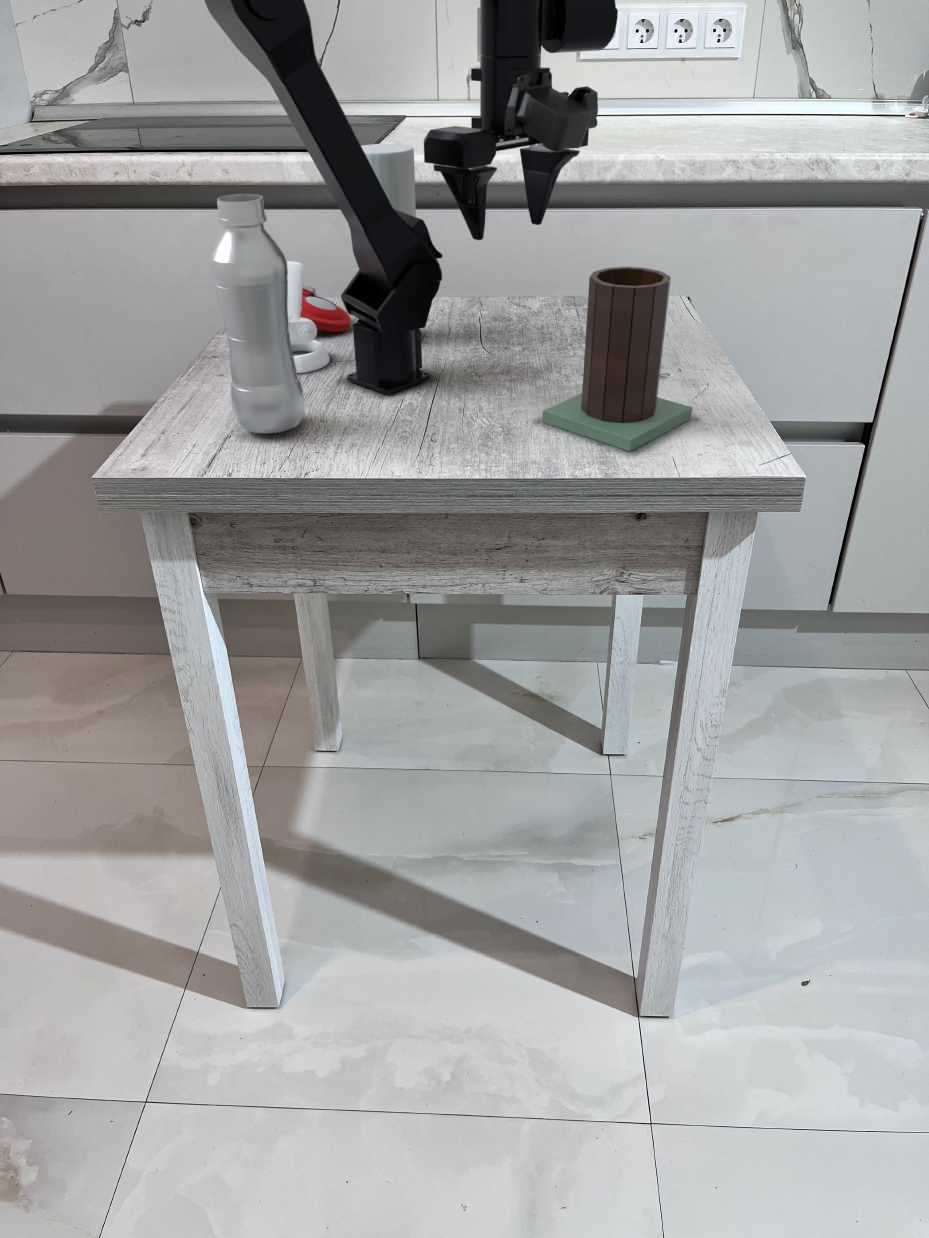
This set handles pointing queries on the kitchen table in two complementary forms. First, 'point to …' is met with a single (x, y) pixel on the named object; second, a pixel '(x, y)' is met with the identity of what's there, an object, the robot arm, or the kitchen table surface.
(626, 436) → the peg stand
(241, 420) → the plastic bottle
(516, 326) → the kitchen table surface
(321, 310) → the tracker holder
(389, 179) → the spray can
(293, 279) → the white upright ring-based piece
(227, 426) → the kitchen table surface
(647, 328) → the sleeve
